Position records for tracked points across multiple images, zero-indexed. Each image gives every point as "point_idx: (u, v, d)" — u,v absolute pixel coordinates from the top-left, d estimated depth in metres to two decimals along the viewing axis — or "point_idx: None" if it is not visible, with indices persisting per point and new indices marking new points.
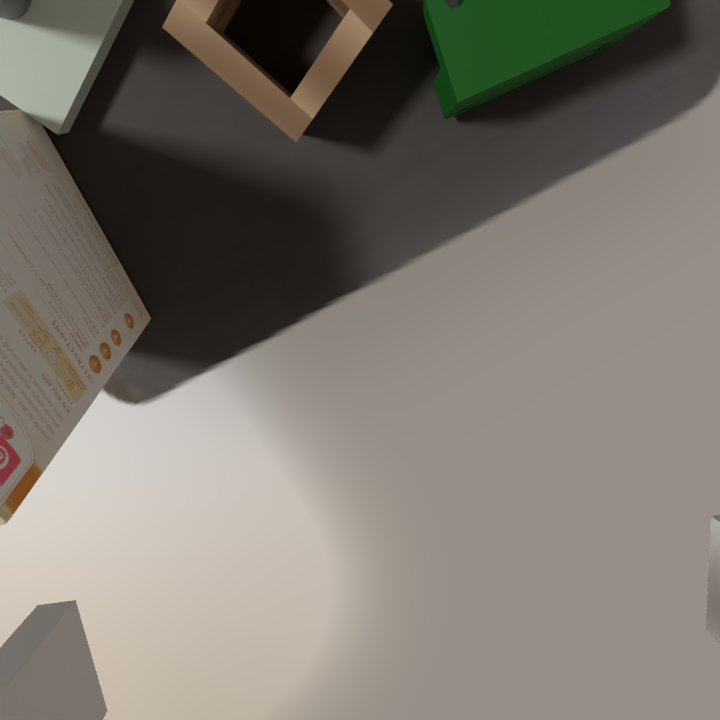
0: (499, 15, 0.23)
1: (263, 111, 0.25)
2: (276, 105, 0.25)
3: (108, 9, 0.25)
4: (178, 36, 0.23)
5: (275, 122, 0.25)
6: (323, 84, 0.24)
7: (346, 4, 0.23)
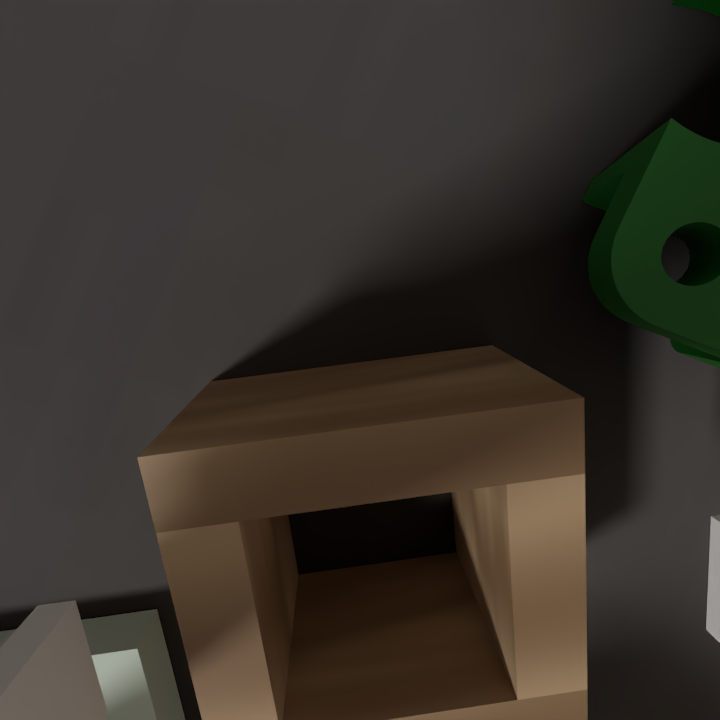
0: None
1: None
2: None
3: None
4: None
5: None
6: (559, 628, 0.09)
7: (493, 484, 0.09)
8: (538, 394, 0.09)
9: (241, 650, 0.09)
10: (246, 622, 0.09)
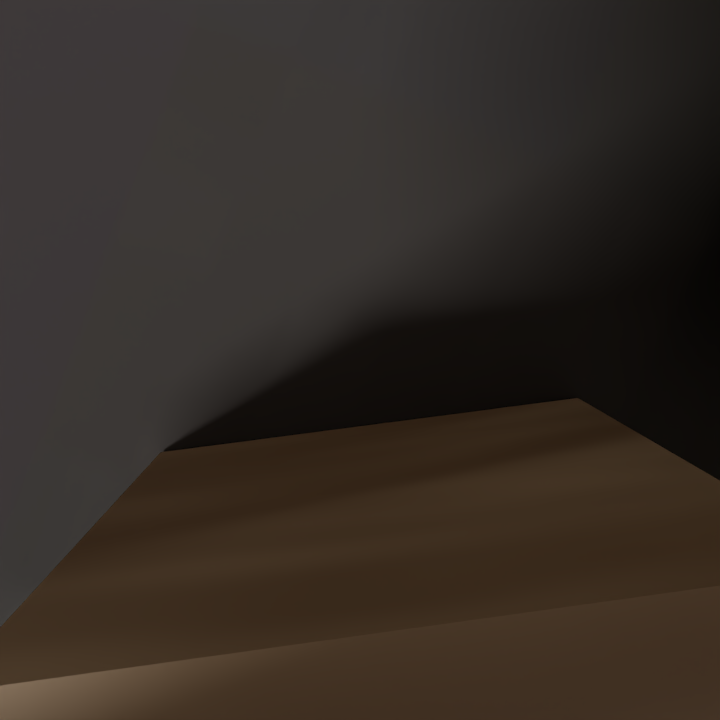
0: None
1: None
2: None
3: None
4: None
5: None
6: None
7: None
8: None
9: None
10: None
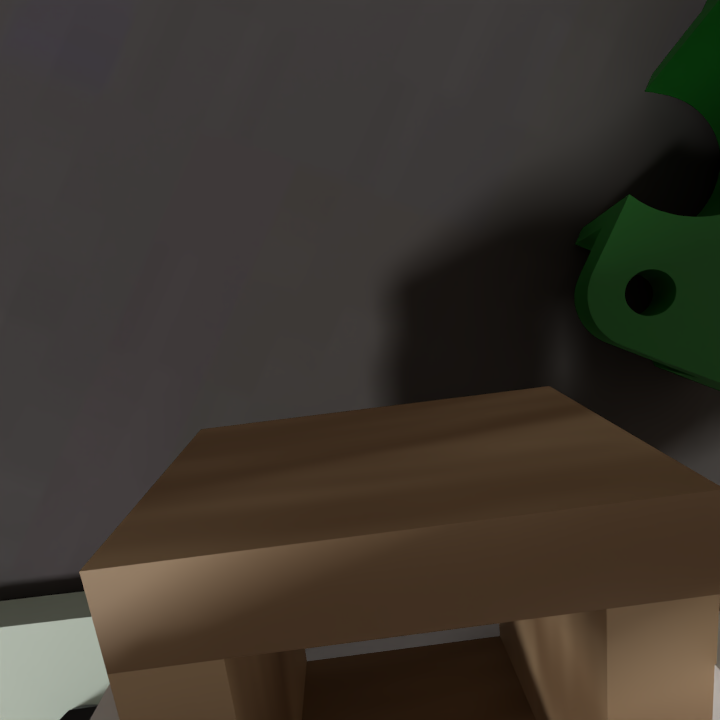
0: None
1: None
2: None
3: None
4: None
5: None
6: None
7: (586, 608, 0.06)
8: (649, 478, 0.06)
9: None
10: None
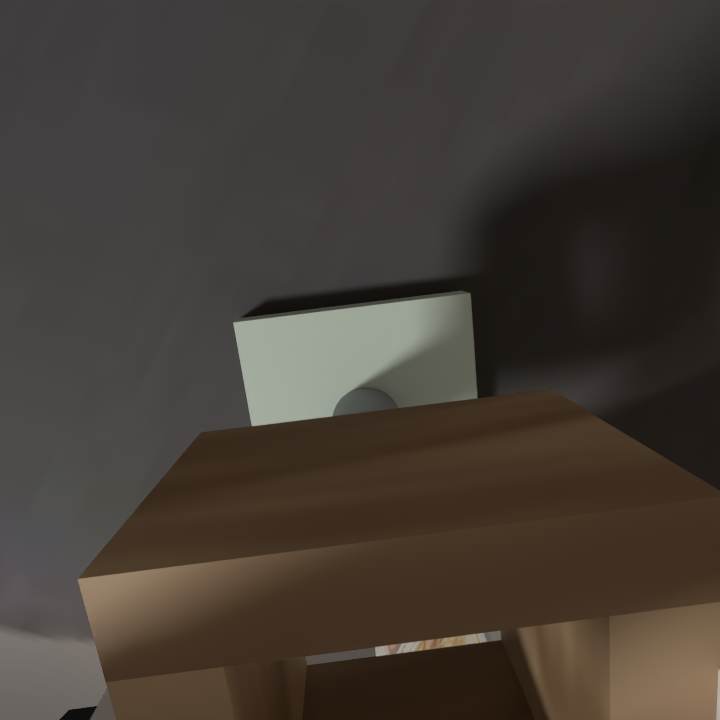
0: None
1: None
2: None
3: (465, 351, 0.20)
4: None
5: None
6: None
7: (589, 615, 0.06)
8: (652, 484, 0.06)
9: None
10: None
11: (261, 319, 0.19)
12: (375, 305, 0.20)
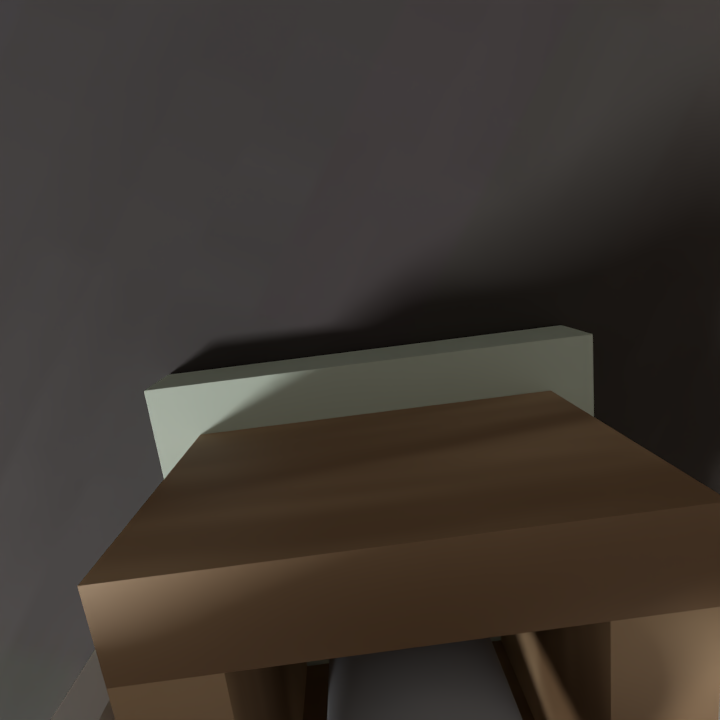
0: None
1: None
2: None
3: None
4: None
5: None
6: None
7: (590, 620, 0.06)
8: (653, 489, 0.06)
9: None
10: None
11: (197, 384, 0.10)
12: (413, 357, 0.10)
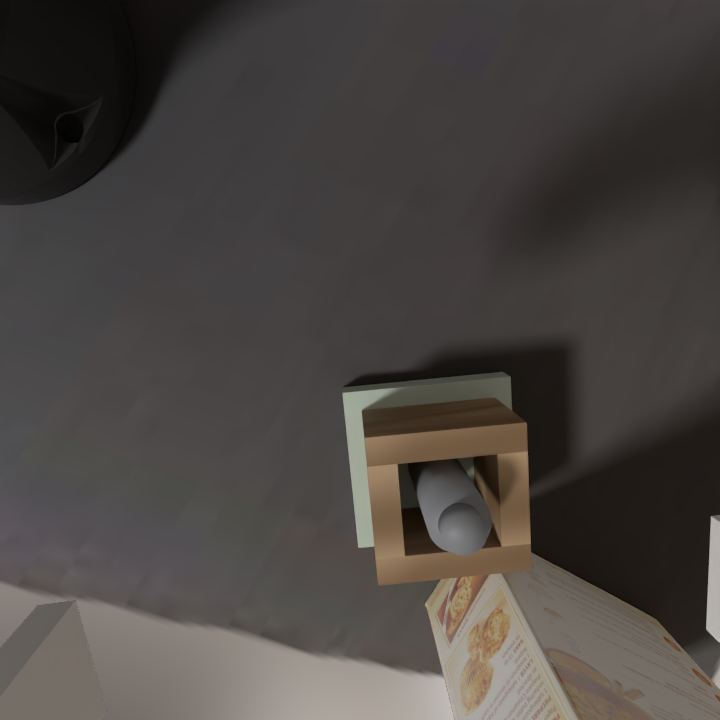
0: None
1: (489, 572, 0.24)
2: (495, 559, 0.24)
3: None
4: (393, 580, 0.24)
5: (504, 571, 0.24)
6: (518, 515, 0.24)
7: (492, 454, 0.23)
8: (510, 420, 0.23)
9: (392, 517, 0.23)
10: (396, 505, 0.23)
11: (362, 391, 0.28)
12: (442, 383, 0.28)
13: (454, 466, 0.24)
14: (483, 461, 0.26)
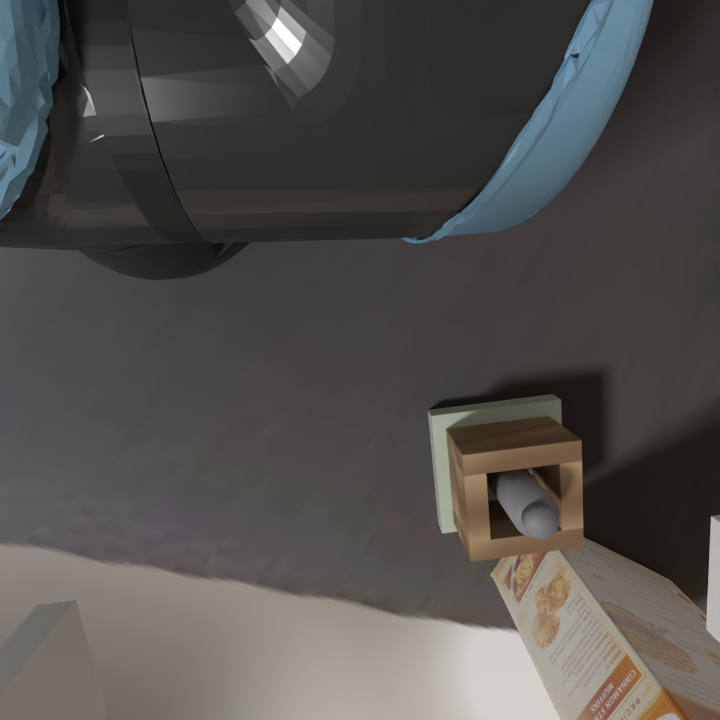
0: None
1: (552, 549, 0.33)
2: (557, 540, 0.32)
3: None
4: (481, 558, 0.32)
5: (563, 548, 0.33)
6: (574, 507, 0.32)
7: (556, 463, 0.31)
8: (568, 438, 0.31)
9: (482, 511, 0.32)
10: (484, 503, 0.32)
11: (446, 414, 0.36)
12: (508, 406, 0.36)
13: (524, 472, 0.33)
14: (543, 466, 0.34)
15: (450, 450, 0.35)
